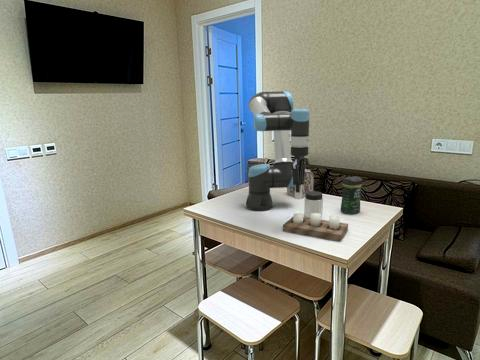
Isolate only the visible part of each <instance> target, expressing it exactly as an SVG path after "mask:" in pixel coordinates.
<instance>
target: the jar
mask: <svg viewBox="0 0 480 360" xmlns="http://www.w3.org/2000/svg"><path fill="white" fill-rule="evenodd" d="M323 205H324V198H323V193H322V192H321V191H318V190H317V191H316V190H313V191H309V192H306V196H305V197H304V205H303V206H304V211H303V212H304V214H303V217H308V218H311V213H320V214H321V218H322V217H323V212H324V211H323V210H324V209H323V207H324V206H323Z"/></svg>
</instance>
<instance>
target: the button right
mask: <svg viewBox="0 0 480 360" xmlns="http://www.w3.org/2000/svg"><path fill="white" fill-rule="evenodd" d="M340 220H341V217H340V216H338V215H334V214H333V215H329V216H328V221H329V229H332V230H339V223H341V221H340Z"/></svg>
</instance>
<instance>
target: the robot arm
mask: <svg viewBox="0 0 480 360" xmlns="http://www.w3.org/2000/svg"><path fill="white" fill-rule="evenodd" d="M248 109H249V111H250V112H251V113H252V114H253V130H254V131H255V132H273V141H274V142H273V143H274V145H273V146H274V159H275V161H273V163H272V166H271V165H270V164H269V163H259V164H256V165H255V164H254V165H251V166H250V167H249V169H248V174H247V177H248V195H247V198H246V201H245V208H246V209H248V210H249V211H253V212H254V211H256V212H257V211H258V212H263V211H265V212H266V211H269V210H272V209H273V208H274V202H273V201H274V200H273V198H272V195H271V189H283V188H286V189H287V188H288V187H294V186H295V197H294V199H295V200H302V199H303V198H302V184H304V183H303V182H304V177H305V169H306V168H307V167H306V166H307V159H306V158H305V157H306V156H308V155H309V149H310V148H309V141H311V139H310V118H311V117H310V109H305V108H303V109H302V108H294V98H293V95H292V93H291V92H290V91H285V90H281V91H260V92H258V93H256V94H254V95H252V97H251V98H250V99H249V101H248ZM292 157H293V160H292Z"/></svg>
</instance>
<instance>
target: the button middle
mask: <svg viewBox="0 0 480 360" xmlns="http://www.w3.org/2000/svg"><path fill="white" fill-rule="evenodd" d="M321 220H322V217H321V214H320V213H311V221H310V225H311V226H314V227H320V226H321Z"/></svg>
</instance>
